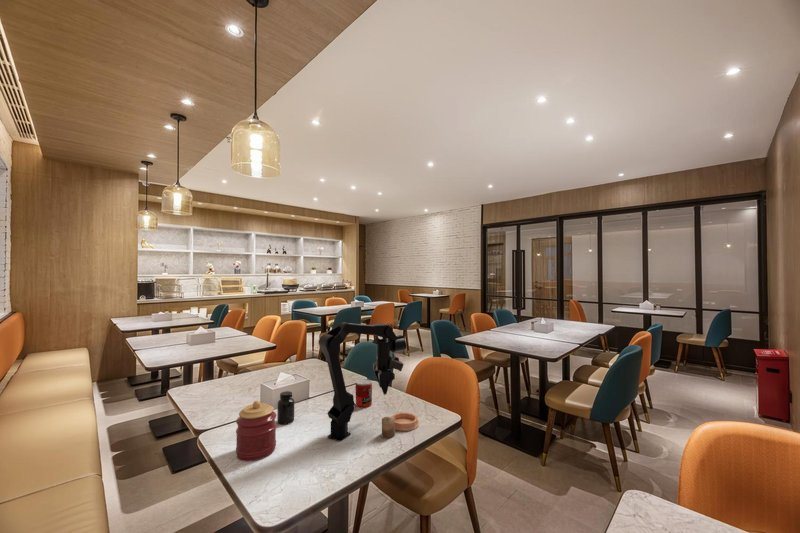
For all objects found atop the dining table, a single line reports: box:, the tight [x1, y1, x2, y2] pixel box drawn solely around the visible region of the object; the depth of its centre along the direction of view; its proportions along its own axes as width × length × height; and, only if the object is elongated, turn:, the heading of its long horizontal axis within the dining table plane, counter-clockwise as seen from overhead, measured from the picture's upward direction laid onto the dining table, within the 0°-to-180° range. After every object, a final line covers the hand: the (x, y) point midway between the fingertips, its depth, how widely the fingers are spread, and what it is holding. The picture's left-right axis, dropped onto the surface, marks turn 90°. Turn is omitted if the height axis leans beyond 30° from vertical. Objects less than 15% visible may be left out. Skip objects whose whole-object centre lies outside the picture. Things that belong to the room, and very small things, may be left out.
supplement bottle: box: [276, 390, 295, 426], centre depth 141 cm, size 7×7×12 cm
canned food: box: [355, 378, 373, 409], centre depth 159 cm, size 8×8×11 cm
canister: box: [235, 400, 277, 462], centre depth 117 cm, size 13×13×18 cm
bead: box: [381, 416, 396, 439], centre depth 129 cm, size 5×5×6 cm
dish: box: [390, 412, 420, 432], centre depth 138 cm, size 12×12×3 cm
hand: (383, 390), depth 141 cm, fingers open, 9 cm apart
